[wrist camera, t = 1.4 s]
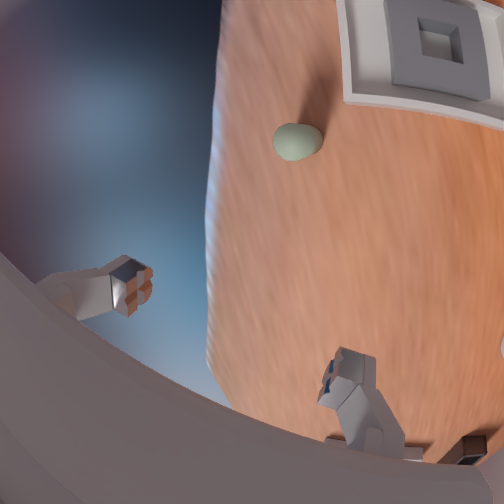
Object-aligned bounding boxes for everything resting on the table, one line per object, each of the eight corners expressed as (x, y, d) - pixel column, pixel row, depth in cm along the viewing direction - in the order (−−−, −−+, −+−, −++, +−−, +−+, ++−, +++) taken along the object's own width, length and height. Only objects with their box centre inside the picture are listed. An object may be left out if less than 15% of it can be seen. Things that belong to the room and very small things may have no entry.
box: (496, 18, 16) (510, 6, 11) (509, 133, 23) (528, 135, 18) (336, -12, 24) (330, -30, 19) (345, 104, 31) (342, 99, 27)
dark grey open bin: (485, 435, 41) (487, 453, 36) (458, 462, 47) (457, 478, 42) (462, 436, 44) (463, 455, 39) (436, 463, 50) (435, 480, 45)
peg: (323, 125, 34) (310, 123, 26) (323, 155, 35) (310, 162, 28) (293, 124, 35) (272, 123, 27) (293, 153, 37) (273, 160, 29)
